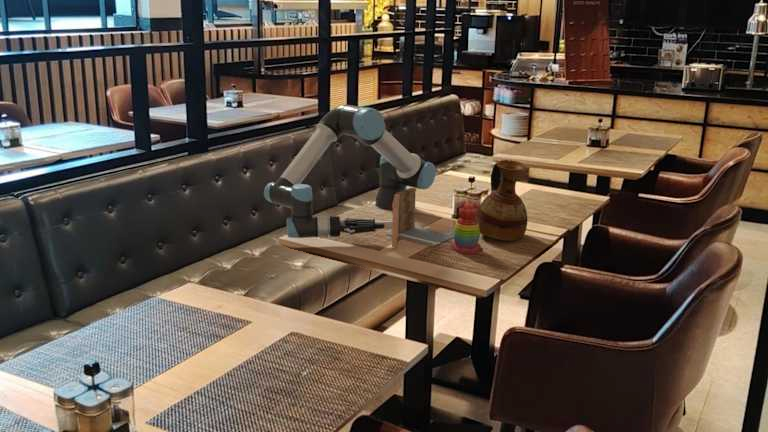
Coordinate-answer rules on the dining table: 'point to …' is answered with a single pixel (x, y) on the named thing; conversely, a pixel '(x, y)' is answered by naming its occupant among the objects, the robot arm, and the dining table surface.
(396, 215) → the tan square panel
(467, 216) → the stacking bear
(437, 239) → the card
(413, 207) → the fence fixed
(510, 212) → the ceramic pitcher
